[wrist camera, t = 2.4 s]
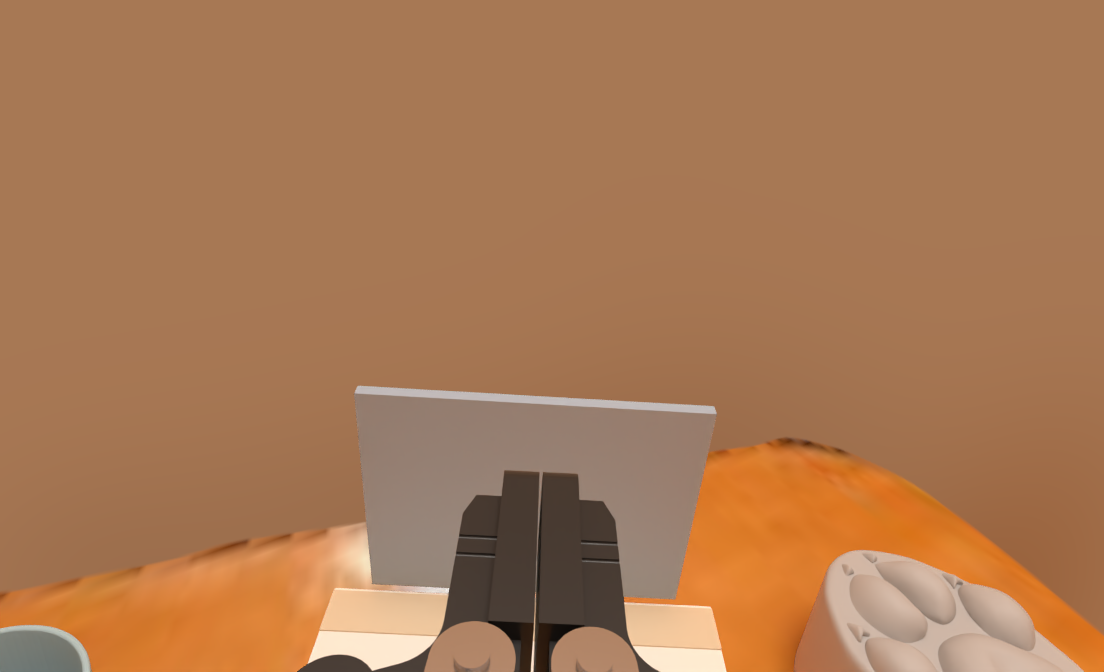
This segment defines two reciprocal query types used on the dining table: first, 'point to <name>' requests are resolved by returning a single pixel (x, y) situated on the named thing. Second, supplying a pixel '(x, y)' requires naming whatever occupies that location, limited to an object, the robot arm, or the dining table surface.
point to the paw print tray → (917, 623)
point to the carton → (417, 618)
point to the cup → (41, 650)
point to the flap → (526, 445)
